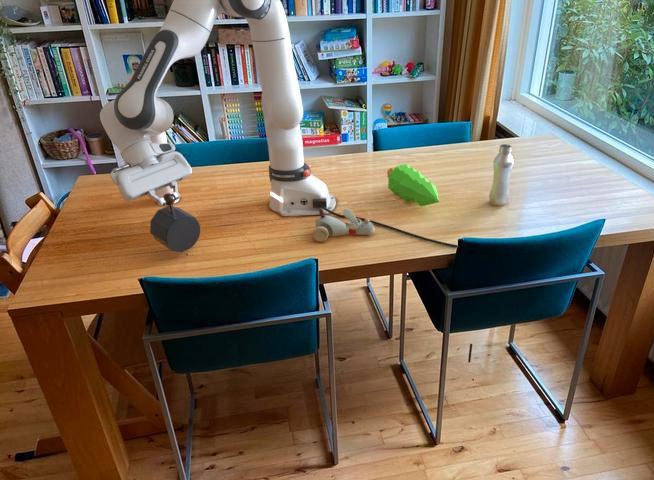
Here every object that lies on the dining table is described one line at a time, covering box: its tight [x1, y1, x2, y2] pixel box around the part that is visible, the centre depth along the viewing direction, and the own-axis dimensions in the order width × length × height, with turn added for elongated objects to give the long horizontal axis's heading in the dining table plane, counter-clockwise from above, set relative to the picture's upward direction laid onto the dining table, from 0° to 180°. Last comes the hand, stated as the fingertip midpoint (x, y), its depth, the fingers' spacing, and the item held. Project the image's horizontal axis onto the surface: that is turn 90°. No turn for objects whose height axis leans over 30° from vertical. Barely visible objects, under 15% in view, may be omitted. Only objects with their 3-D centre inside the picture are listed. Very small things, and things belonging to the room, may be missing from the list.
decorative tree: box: [386, 163, 440, 208], centre depth 184 cm, size 11×12×30 cm
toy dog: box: [312, 208, 375, 243], centre depth 165 cm, size 12×19×9 cm, turn 114°
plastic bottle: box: [488, 143, 514, 206], centre depth 180 cm, size 6×7×20 cm
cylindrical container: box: [150, 131, 180, 206], centre depth 183 cm, size 7×7×25 cm
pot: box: [149, 193, 201, 253], centre depth 153 cm, size 8×11×17 cm
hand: (170, 201), depth 149 cm, fingers closed on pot, 3 cm apart
